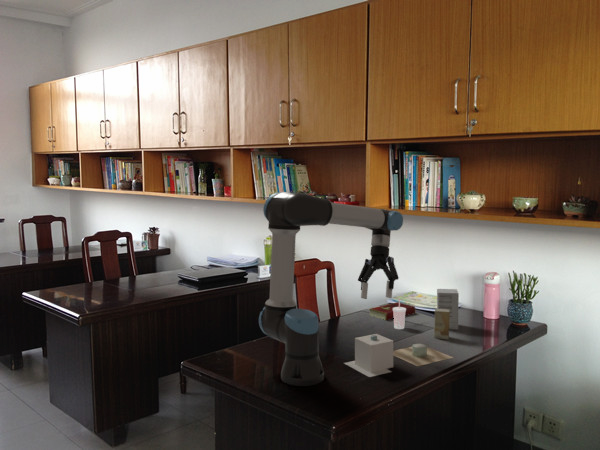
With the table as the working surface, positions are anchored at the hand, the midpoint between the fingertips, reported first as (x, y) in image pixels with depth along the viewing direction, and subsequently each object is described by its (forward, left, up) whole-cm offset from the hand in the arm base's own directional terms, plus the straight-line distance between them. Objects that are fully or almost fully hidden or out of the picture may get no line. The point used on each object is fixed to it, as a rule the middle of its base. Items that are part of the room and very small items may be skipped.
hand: (375, 298), depth 216 cm
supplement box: (+48, +9, -21) cm, 53 cm away
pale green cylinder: (+10, -15, -21) cm, 27 cm away
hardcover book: (+40, +39, -22) cm, 59 cm away
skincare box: (+34, -2, -21) cm, 40 cm away
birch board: (+9, -15, -21) cm, 28 cm away
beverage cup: (+28, +19, -21) cm, 39 cm away
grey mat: (-12, -15, -21) cm, 29 cm away
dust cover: (-12, -15, -21) cm, 29 cm away
